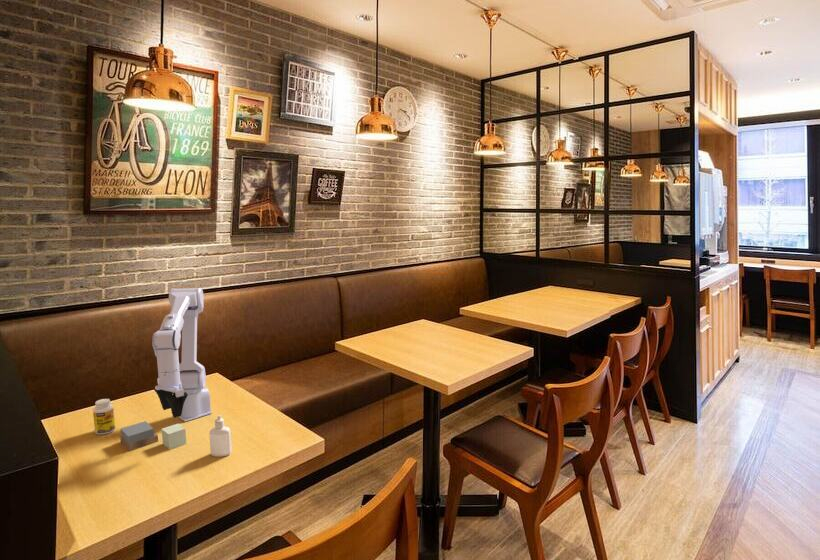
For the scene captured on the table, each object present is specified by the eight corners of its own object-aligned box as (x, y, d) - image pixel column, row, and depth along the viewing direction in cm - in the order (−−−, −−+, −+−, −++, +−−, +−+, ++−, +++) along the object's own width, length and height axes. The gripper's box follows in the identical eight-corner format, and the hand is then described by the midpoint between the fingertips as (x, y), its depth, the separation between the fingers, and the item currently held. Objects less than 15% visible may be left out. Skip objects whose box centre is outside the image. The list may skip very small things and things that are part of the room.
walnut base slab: (148, 434, 155) (148, 427, 155) (158, 443, 150) (157, 435, 149) (120, 443, 149) (120, 435, 149) (129, 452, 144) (129, 444, 144)
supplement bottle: (95, 437, 152) (92, 406, 150) (95, 430, 157) (91, 400, 155) (116, 432, 155) (113, 402, 153) (115, 425, 160) (112, 396, 158)
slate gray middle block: (146, 428, 154) (145, 421, 153) (154, 436, 149) (153, 428, 148) (121, 436, 149) (120, 428, 148) (129, 444, 144) (128, 436, 143)
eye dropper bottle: (222, 459, 140) (220, 420, 138) (208, 455, 142) (205, 416, 140) (234, 452, 144) (232, 414, 142) (219, 448, 146) (217, 410, 144)
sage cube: (179, 438, 152) (178, 423, 151) (186, 443, 149) (185, 428, 148) (162, 444, 148) (161, 428, 147) (169, 449, 145) (168, 434, 144)
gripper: (145, 367, 146) (149, 409, 149) (164, 379, 137) (167, 424, 139) (169, 361, 152) (172, 402, 154) (189, 373, 142) (192, 416, 144)
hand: (172, 412), depth 147 cm, fingers open, 7 cm apart
